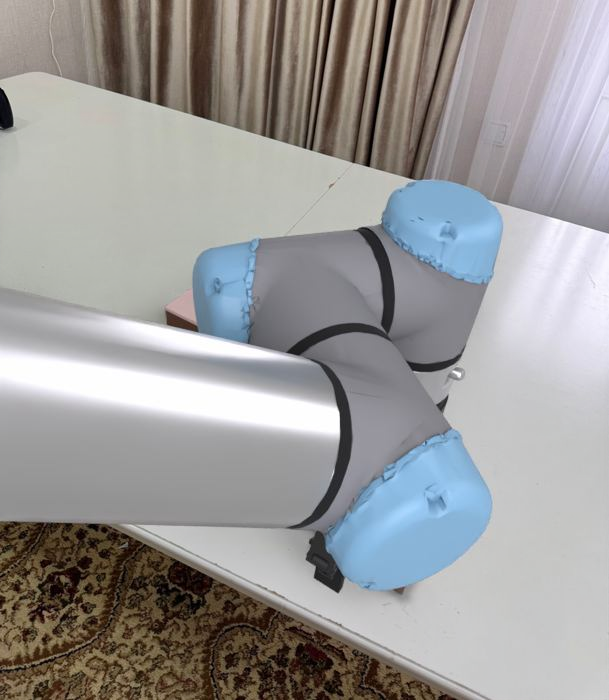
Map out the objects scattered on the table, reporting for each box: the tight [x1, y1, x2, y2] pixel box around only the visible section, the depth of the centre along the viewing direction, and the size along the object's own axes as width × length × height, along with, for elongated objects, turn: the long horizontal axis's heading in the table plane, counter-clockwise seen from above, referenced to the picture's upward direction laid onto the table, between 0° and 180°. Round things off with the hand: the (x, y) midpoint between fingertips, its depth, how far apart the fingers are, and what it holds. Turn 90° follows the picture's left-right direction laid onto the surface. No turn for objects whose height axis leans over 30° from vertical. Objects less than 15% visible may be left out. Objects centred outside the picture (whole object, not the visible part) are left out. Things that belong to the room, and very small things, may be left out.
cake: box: [164, 286, 199, 333], centre depth 92 cm, size 10×12×6 cm
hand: (362, 530), depth 62 cm, fingers open, 13 cm apart
